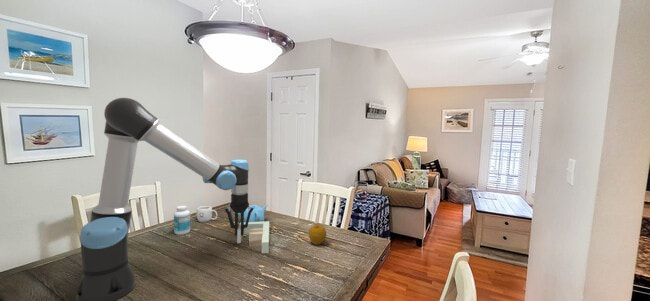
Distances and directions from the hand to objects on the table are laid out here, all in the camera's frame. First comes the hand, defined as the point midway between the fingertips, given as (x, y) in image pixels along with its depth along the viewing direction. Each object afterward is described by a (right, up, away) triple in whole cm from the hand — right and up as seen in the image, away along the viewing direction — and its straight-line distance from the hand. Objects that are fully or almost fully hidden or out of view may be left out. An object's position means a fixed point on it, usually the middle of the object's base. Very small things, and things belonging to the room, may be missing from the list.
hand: (239, 241), depth 126 cm
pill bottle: (-33, +1, +12) cm, 35 cm away
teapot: (0, +1, +25) cm, 25 cm away
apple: (+37, -2, +3) cm, 37 cm away
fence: (+6, -1, +3) cm, 7 cm away
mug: (-28, +2, +29) cm, 40 cm away
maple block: (+7, -1, +2) cm, 8 cm away
